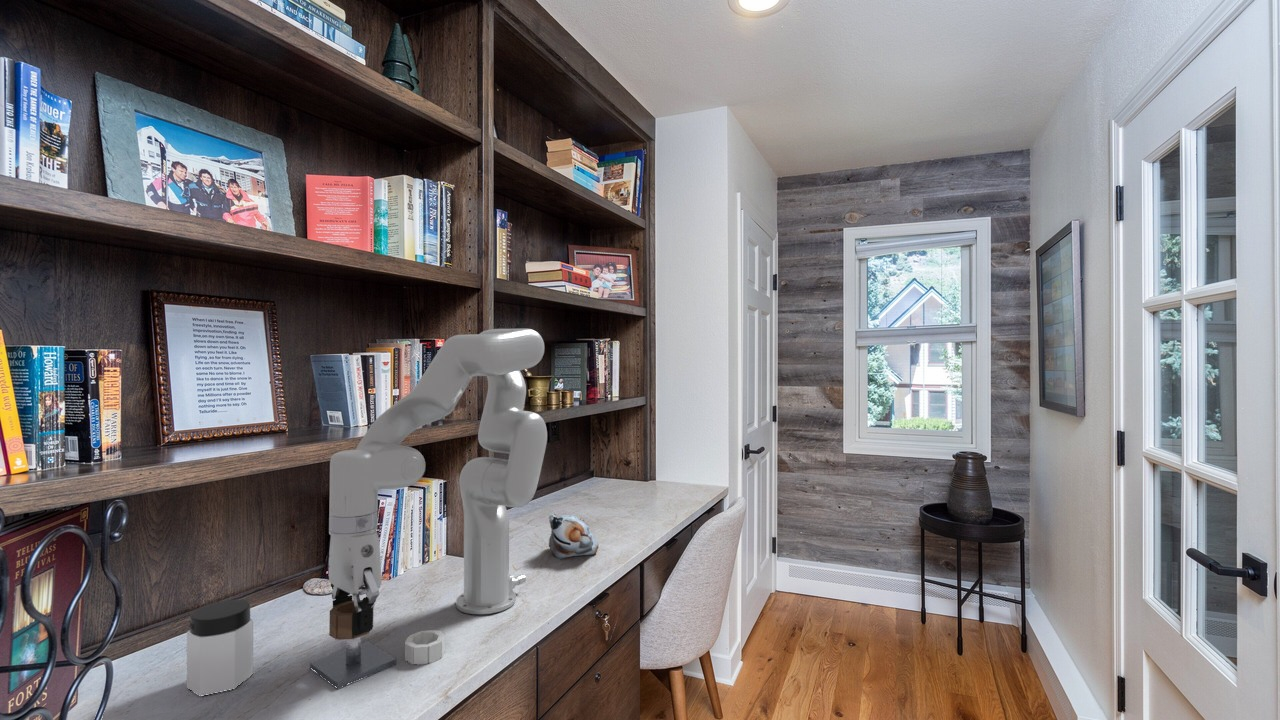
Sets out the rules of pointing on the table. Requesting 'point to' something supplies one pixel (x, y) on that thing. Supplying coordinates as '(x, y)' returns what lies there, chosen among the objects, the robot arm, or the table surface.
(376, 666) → the post
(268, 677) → the table surface
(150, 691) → the table surface
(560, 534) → the lucky cat figurine
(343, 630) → the brown angular block
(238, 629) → the jar
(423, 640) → the collar
